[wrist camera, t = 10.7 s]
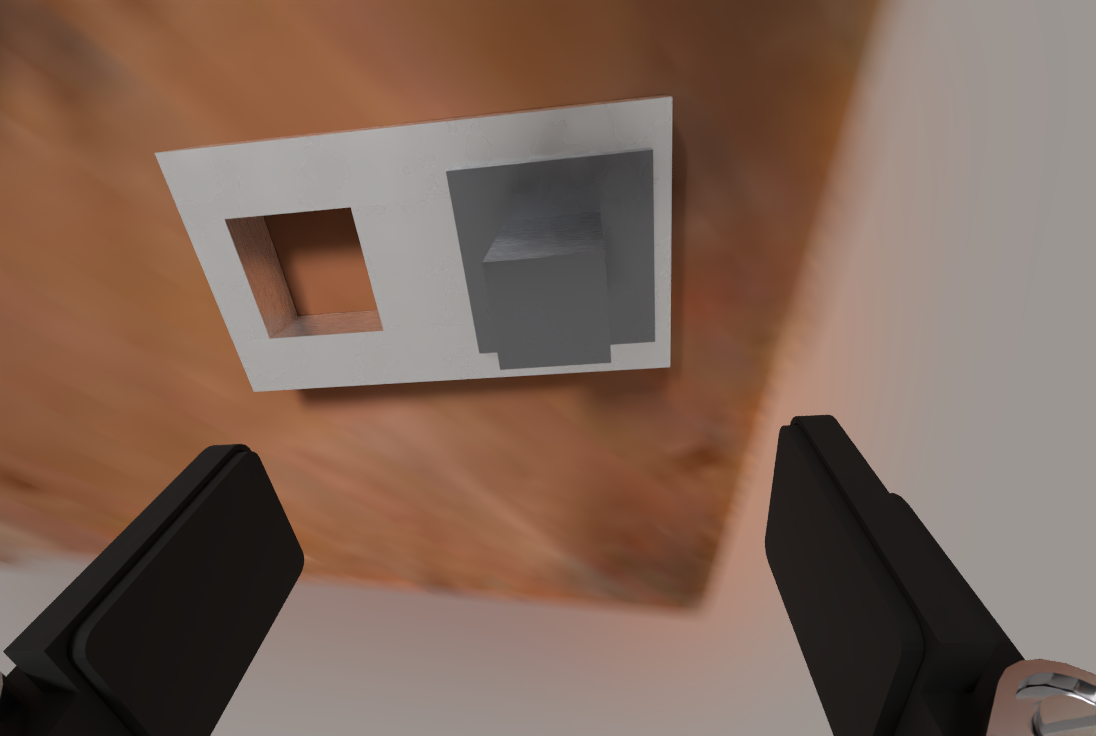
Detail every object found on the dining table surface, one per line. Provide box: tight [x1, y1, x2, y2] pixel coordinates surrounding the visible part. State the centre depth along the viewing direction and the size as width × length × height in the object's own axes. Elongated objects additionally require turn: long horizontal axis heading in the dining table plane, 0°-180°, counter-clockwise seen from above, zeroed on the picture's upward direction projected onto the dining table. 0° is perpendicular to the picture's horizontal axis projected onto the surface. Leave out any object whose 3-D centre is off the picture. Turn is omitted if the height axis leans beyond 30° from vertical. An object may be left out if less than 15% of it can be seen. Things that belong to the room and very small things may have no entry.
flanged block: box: [446, 147, 655, 370], centre depth 22 cm, size 8×8×9 cm
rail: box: [155, 95, 672, 392], centre depth 26 cm, size 12×22×3 cm, turn 96°
